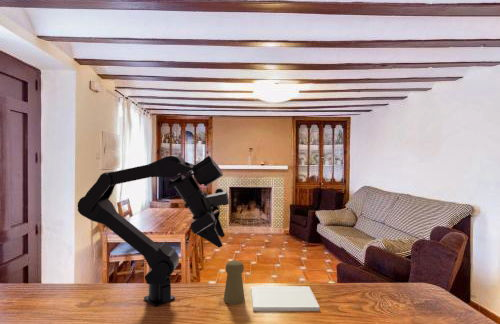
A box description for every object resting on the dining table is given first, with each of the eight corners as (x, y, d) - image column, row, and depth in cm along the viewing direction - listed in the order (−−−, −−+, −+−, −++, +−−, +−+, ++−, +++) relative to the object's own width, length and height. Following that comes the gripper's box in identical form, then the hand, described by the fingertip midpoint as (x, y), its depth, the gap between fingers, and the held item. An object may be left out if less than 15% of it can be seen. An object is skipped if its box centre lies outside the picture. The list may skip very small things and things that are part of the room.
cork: (242, 305, 92) (242, 266, 91) (220, 303, 93) (221, 264, 93) (246, 295, 98) (247, 259, 97) (226, 293, 99) (227, 257, 98)
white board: (253, 310, 89) (253, 307, 89) (251, 289, 102) (251, 286, 102) (319, 310, 90) (319, 307, 90) (309, 289, 103) (309, 286, 103)
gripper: (213, 184, 83) (246, 235, 84) (219, 176, 102) (246, 218, 103) (175, 207, 84) (209, 258, 85) (188, 195, 102) (216, 237, 103)
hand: (222, 241), depth 94 cm, fingers open, 9 cm apart
